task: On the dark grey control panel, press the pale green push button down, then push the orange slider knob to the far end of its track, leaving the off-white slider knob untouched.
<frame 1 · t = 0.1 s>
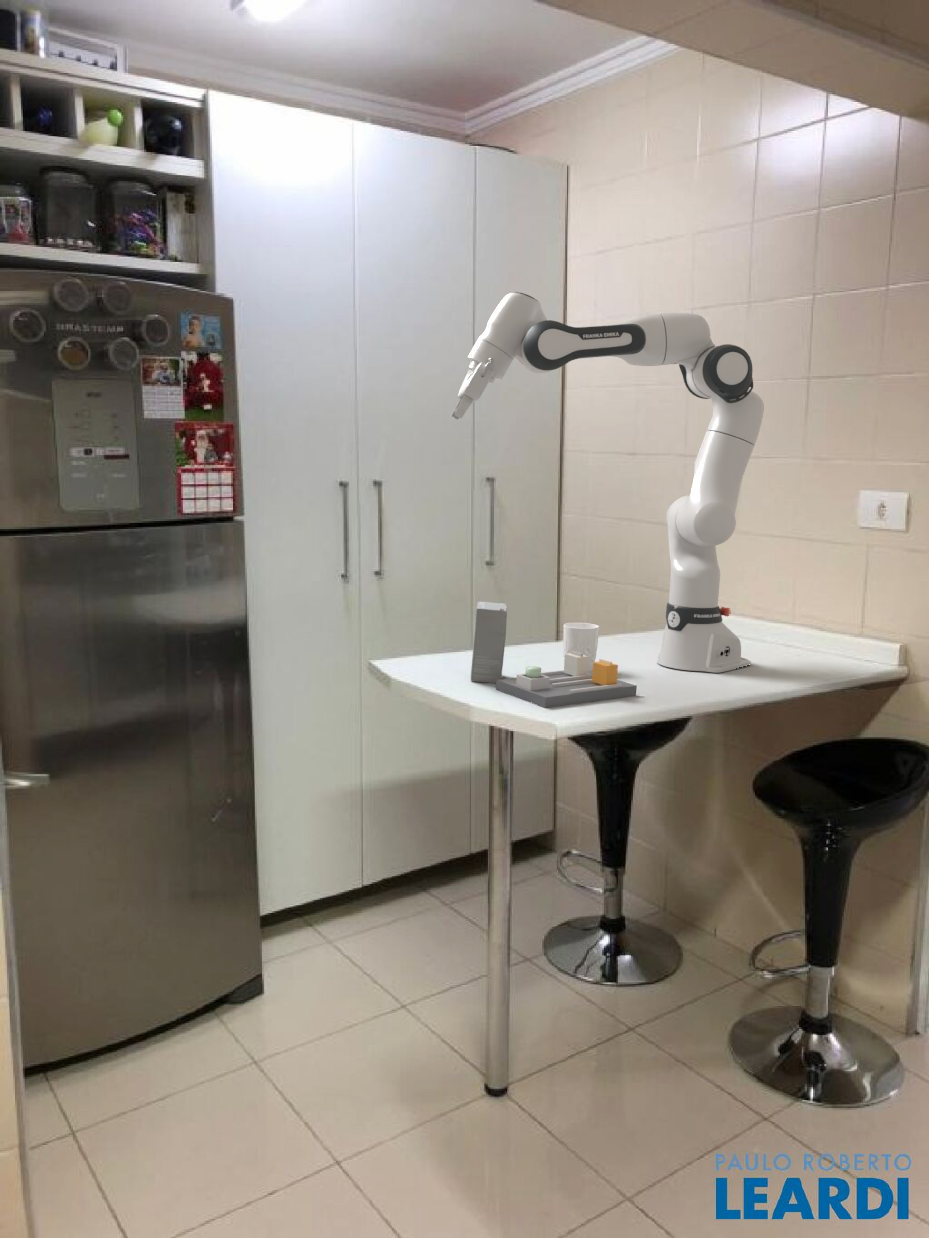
hand: (456, 417, 218), 54 cm above the table, tool tilted 30°, fingers open, 8 cm apart
button: (533, 672, 195), point 5 cm above the table, slide at 0.0 cm
slider b: (576, 663, 207), point 5 cm above the table, slide at 0.0 cm
slider a: (604, 671, 199), point 5 cm above the table, slide at 0.0 cm
panel: (566, 692, 200), on the table
skincare box: (487, 679, 210), on the table
white cup: (578, 670, 223), on the table
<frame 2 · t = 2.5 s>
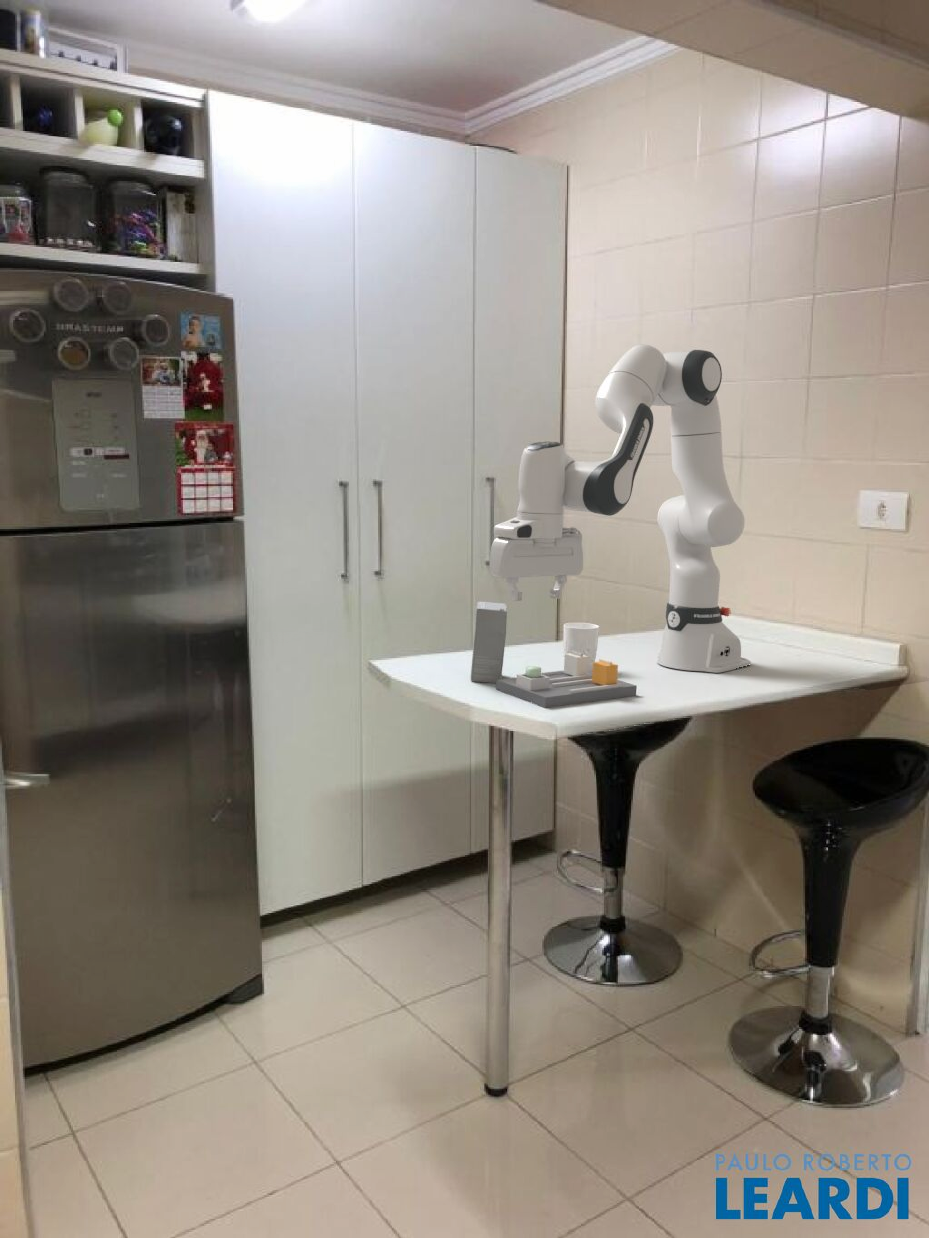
hand: (535, 599, 193), 19 cm above the table, tool pointing down, fingers open, 8 cm apart
nothing on the table moved.
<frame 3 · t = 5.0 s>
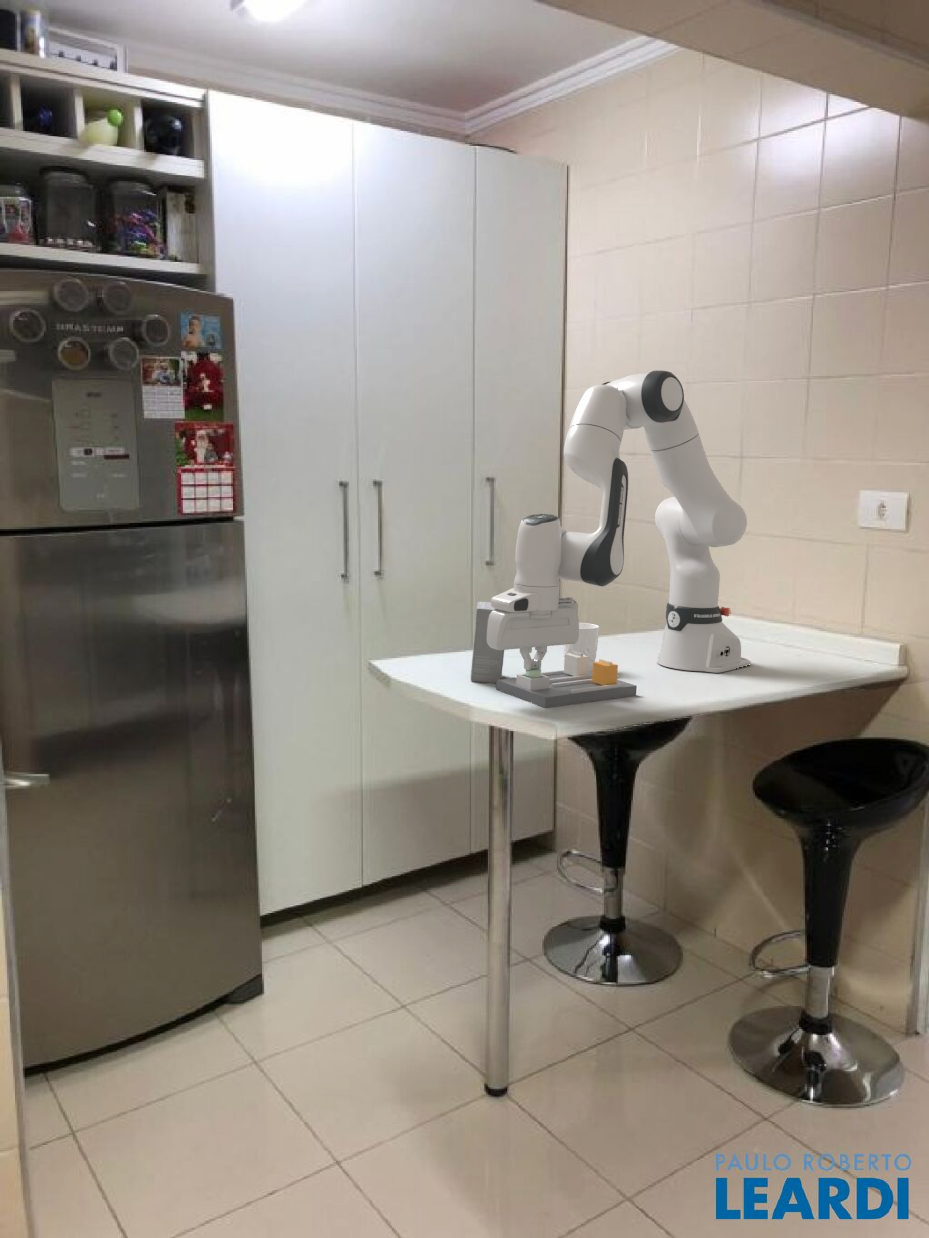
hand: (532, 669, 195), 6 cm above the table, tool pointing down, fingers closed, pressing on button
button: (533, 674, 195), point 5 cm above the table, slide at 0.3 cm, touching gripper
everything else where it was.
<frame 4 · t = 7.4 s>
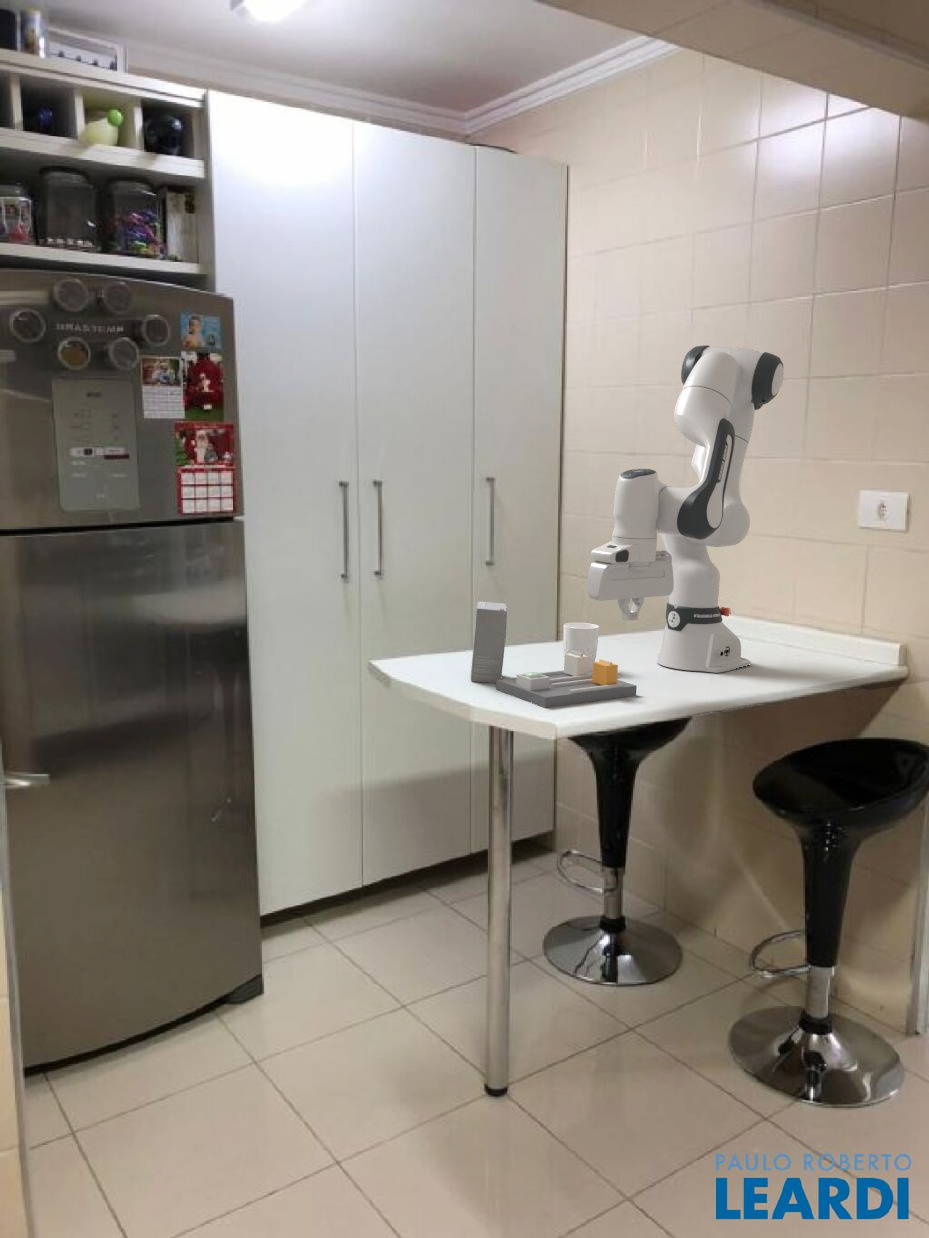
hand: (629, 619, 201), 15 cm above the table, tool pointing down, fingers closed
button: (533, 678, 195), point 4 cm above the table, slide at 1.1 cm
everything else where it was.
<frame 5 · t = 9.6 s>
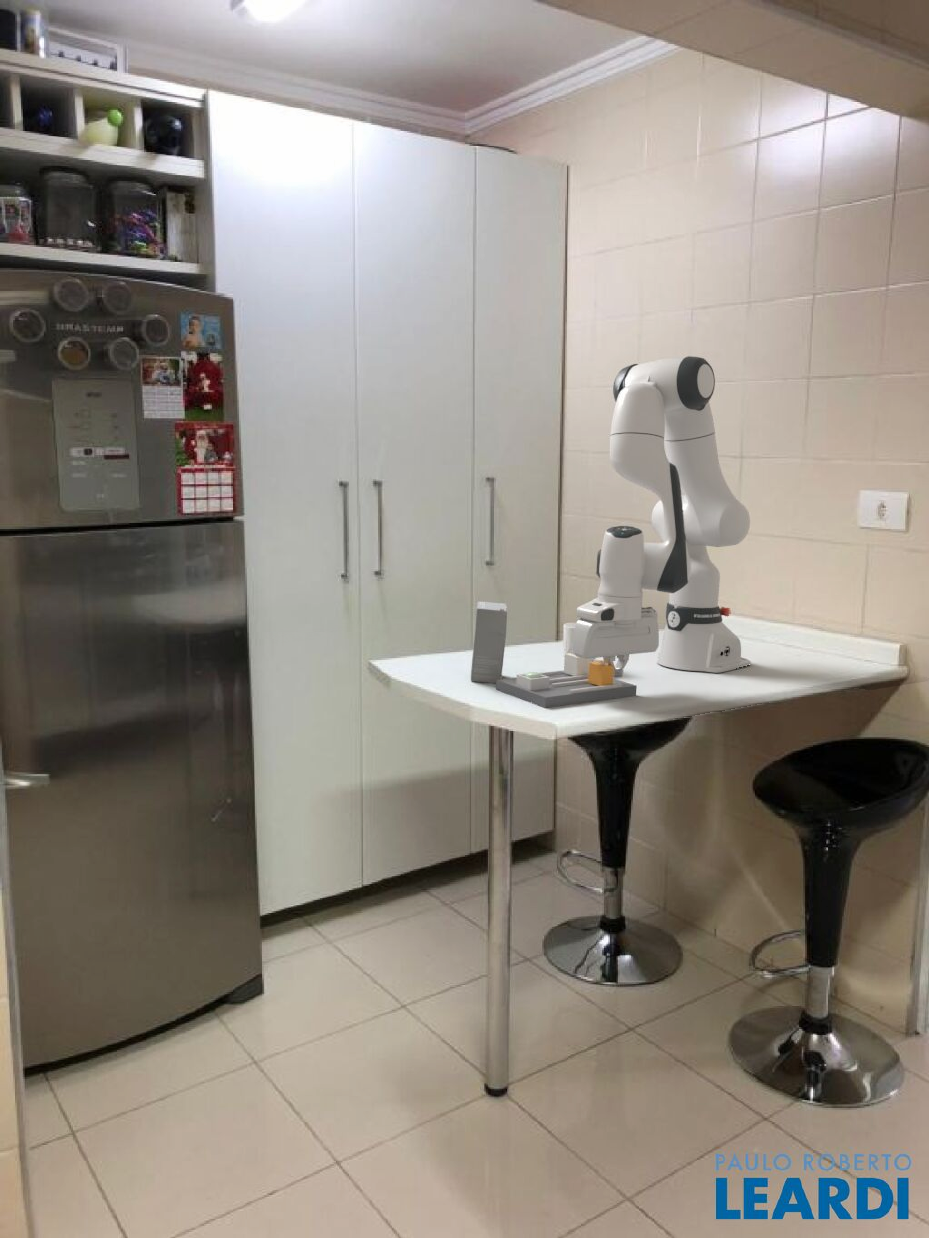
hand: (614, 676, 201), 3 cm above the table, tool pointing down, fingers closed
slider a: (601, 672, 199), point 5 cm above the table, slide at 1.0 cm, touching gripper
everything else where it was.
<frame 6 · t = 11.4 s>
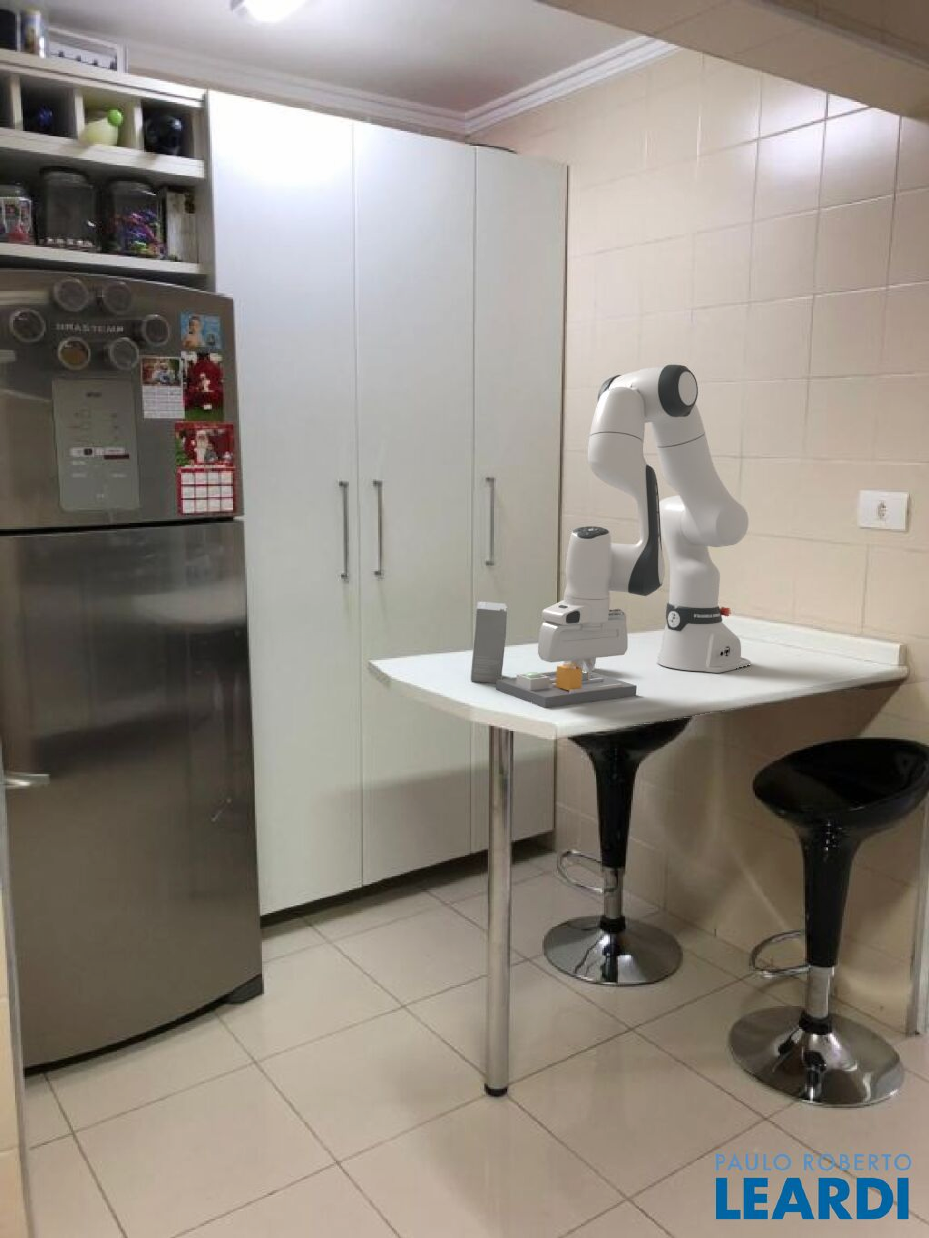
hand: (582, 680, 196), 3 cm above the table, tool pointing down, fingers closed
slider a: (568, 676, 194), point 5 cm above the table, slide at 9.2 cm, touching gripper
everything else where it was.
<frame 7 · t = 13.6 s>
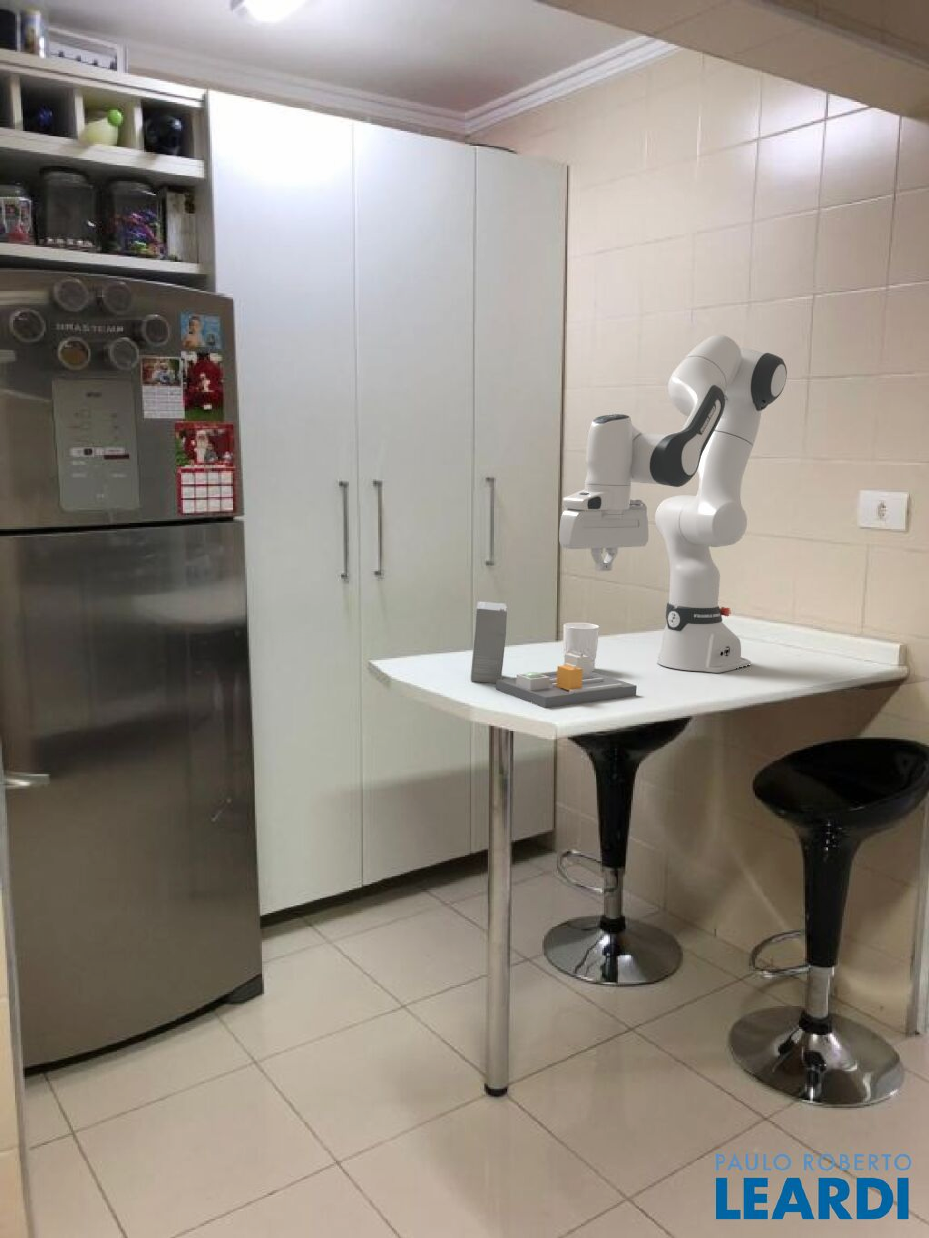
hand: (603, 570, 195), 25 cm above the table, tool pointing down, fingers closed
slider a: (569, 676, 194), point 5 cm above the table, slide at 9.1 cm
everything else where it was.
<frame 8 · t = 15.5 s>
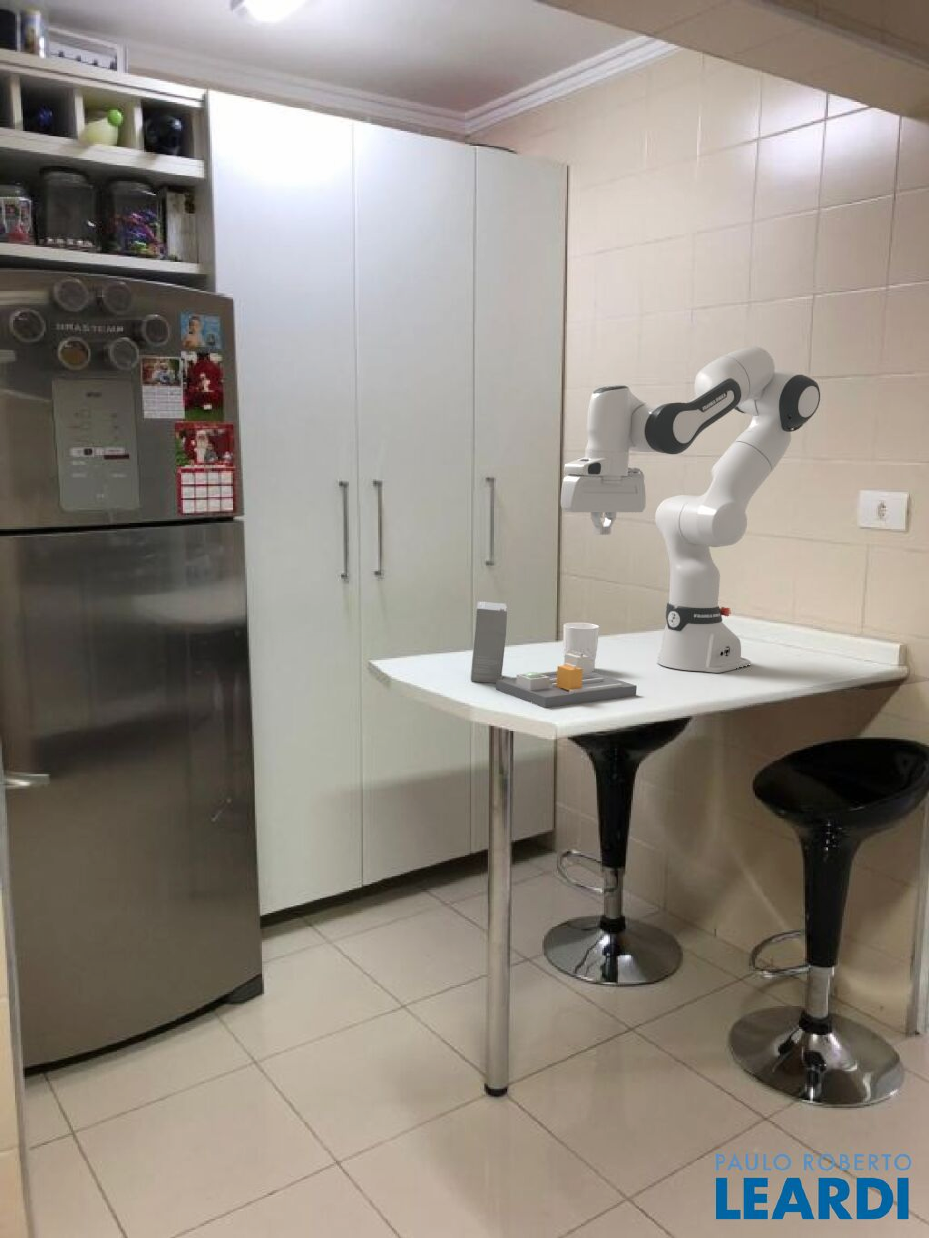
hand: (602, 534, 206), 31 cm above the table, tool pointing down, fingers closed
nothing on the table moved.
at the end: slider a slide at 9.1 cm; button slide at 1.1 cm; slider b slide at 0.0 cm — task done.
